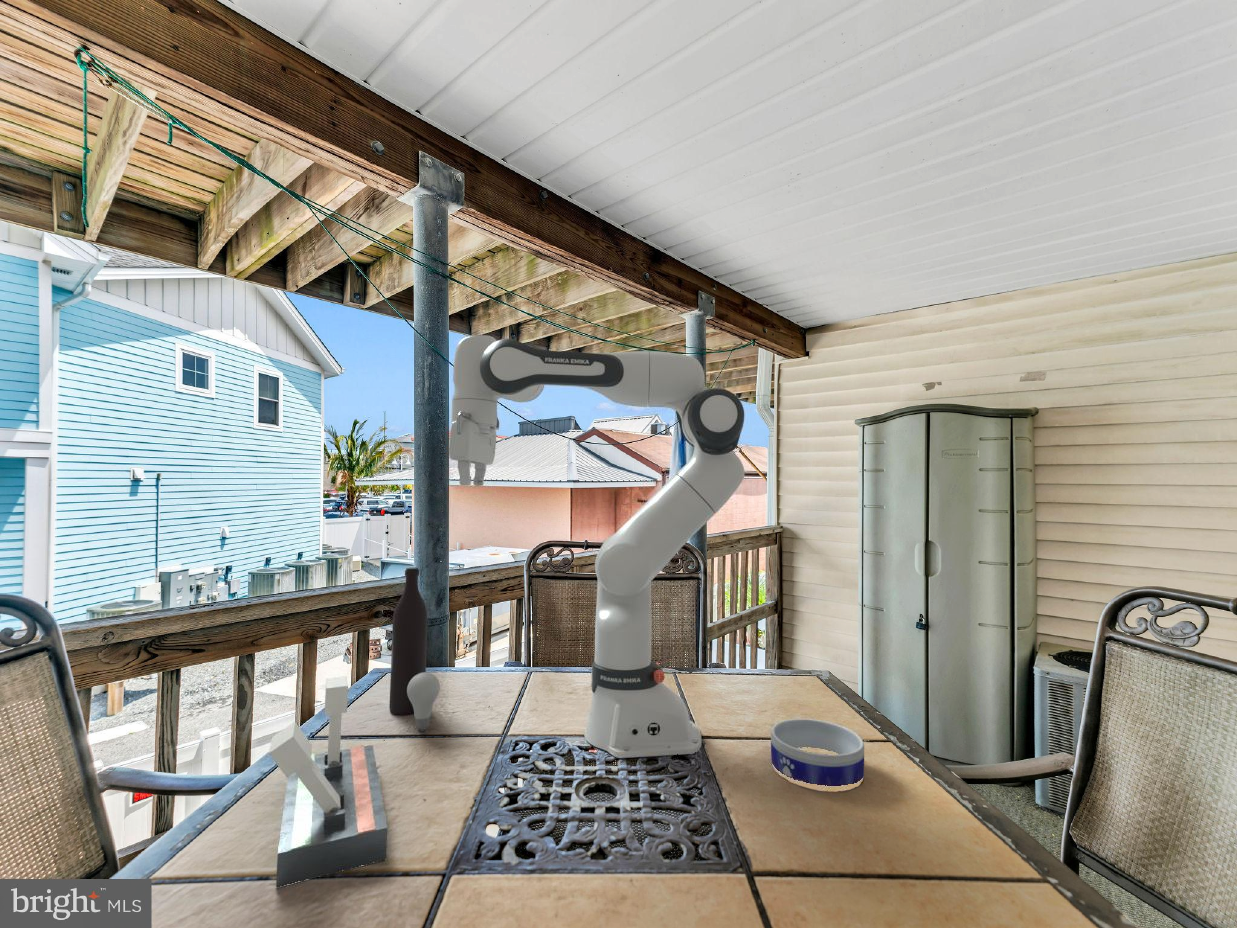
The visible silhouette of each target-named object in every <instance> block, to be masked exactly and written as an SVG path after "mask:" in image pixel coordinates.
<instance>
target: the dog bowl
mask: <svg viewBox="0 0 1237 928" xmlns="http://www.w3.org/2000/svg"><path fill="white" fill-rule="evenodd" d="M799 747H800V748H802V747H807V748H808V747H811V748H820V749H825V750H828V751H833V752H836V753H838V755H828V754H818V753H812V752H807V751H803V750H800V749H797V748H799ZM770 755H771V756H770V758H771V765H772V764H773V765H774V767H775V768H776V769H777V770H778V771H780V772H781V773H782V774H784V775H786V776H787V777H790V778H793V779H794V780H798V781H803V782H806V783H810V784H817V785H825V786H826V785H827V786H841V785H848V784H854V783H857V782H858V781H860V780H861V779H862V778H863V776H865V742H864V740H863V739H862V737H861V736H860V735H859V734H857V733H856V732H855V731H853V730H851V729H850V728H847V727H845V726H843V725H840V724H837V723H834V722H830V721H826V720H822V719H821V720H819V719H814V718H793V719H792V718H790V719H785V720H781V721H779V722H776V723H775V724H773V726H772V727H771V728H770Z"/></svg>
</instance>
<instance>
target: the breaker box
mask: <svg viewBox="0 0 1237 928" xmlns="http://www.w3.org/2000/svg"><path fill="white" fill-rule="evenodd" d="M311 758H312V760H313V761H314V762H315V764H316V765H317V766H318V768H319V769H320V771H321V772H322V773H323V775H324V776H325V777H326V779H327V780H328V781H329V783H330V784H331V785H332V787H333V788H334V790H335V791H336V792H337V794H338V795H339V796H340V810H338V811H334V812H329V813H325V812H324V811H323V810H322V808H321V807H320V806H319V804H318V803H317V802H316V800H315V799H314V798H313V796H312V795H311V794H310V792H309V791H308V790H307V788H306V787H305V786H304V784H303V783H302V782H301V780H300V779H299V778H298V776H297V775H296V774H295V773H294V774H292V775H291V776H289V777H288V778H287V781H286V788H285V797H284V803H283V812H282V817H281V818H282V819H281V827H280V835H279V840H278V842H279V843H278V848H277V861H276V862H277V863H276V882H275V883H276V884H275V888H276V887H280V886H284V885H287V884H292V883H295V882H298V881H304V880H306V879H311V878H315V879H317V878H316V877H318V876H323V875H327V874H331V875H333V874H332V873H335V874H337V873H336V872H338V873H340V872H339V871H342V870H346V871H349V869H350V870H352V869H351V868H354V869H356V868H355V867H358V868H360V867H359V866H361V865H365V866H367V865H366V864H369V865H372V864H371V863H373V862H377V861H378V862H377V863H380V862H379V861H381V862H383V861H382V860H385V859H386V860H387V848H388V847H387V846H388V845H387V844H388V842H387V841H388V824H387V819H386V812H385V808H384V801H383V796H382V791H381V784H380V780H379V779H380V778H379V773H378V767H377V762H376V761H377V760H376V756H375V749H374V745H373V744H369V745H358V746H352V747H350V748H346V749H341V748H340V762H339V763H336V764H331V765H328V751H325V752H323V753H318V754H316V753H311ZM386 860H385V861H386ZM373 864H374V863H373ZM342 872H343V871H342ZM327 876H328V875H327ZM323 877H324V876H323ZM311 880H312V879H311ZM304 882H305V881H304ZM292 885H293V884H292ZM284 887H285V886H284Z"/></svg>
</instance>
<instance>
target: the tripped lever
mask: <svg viewBox="0 0 1237 928" xmlns="http://www.w3.org/2000/svg"><path fill="white" fill-rule="evenodd" d="M348 695H349V681H348V676H347V675H345V676H335V677H328V678H325V696H324V717H326V716H329V717H328V718H329V719H328V739H327V740H328V741H327V743H328V744H327V752H328V765H331V764H336V763H339V762H340V750H341V734H342V733H341V732H342V714H345V713H346V714H347V713H348V697H349V696H348Z"/></svg>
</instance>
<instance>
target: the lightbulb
mask: <svg viewBox="0 0 1237 928" xmlns="http://www.w3.org/2000/svg"><path fill="white" fill-rule="evenodd" d="M440 690H441V684H440V681H439V679H438V677H437V675H435V674H433V673H431V672H427V671H426V672H423V673H419V674H417V675H416V676H414V677H413V678H412V679H411V681H410V682H409V684H408V687H407V694H408V698H409V700H410V702H411V703H412V705H413V708H414V714H413V716H414V719H415V724H414V725H415V729H417V730H419V731H425V729H427V728H428V727H430V719H431V715H432V709H433V705H434V703H435V702H436V700H437V697H438V695H440V694H439V693H440Z"/></svg>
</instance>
